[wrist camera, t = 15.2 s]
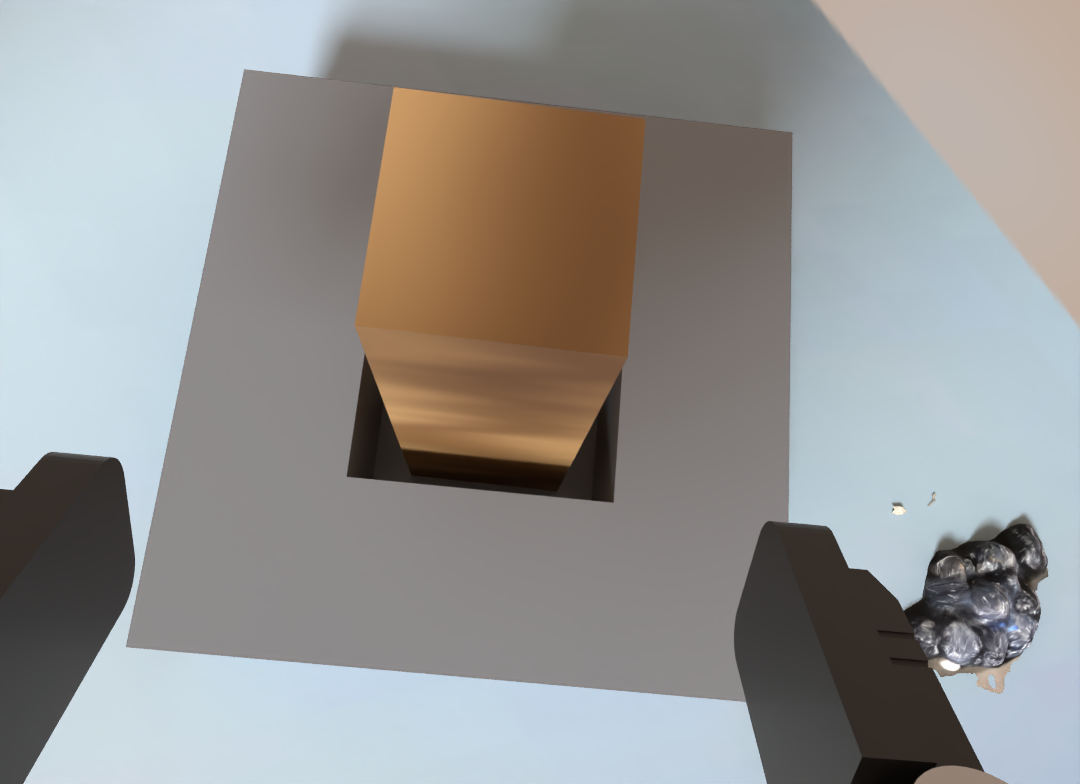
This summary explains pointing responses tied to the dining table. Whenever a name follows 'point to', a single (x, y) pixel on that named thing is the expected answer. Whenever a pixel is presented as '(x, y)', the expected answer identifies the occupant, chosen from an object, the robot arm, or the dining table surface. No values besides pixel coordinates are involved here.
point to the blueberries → (980, 604)
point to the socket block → (458, 506)
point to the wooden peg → (499, 281)
